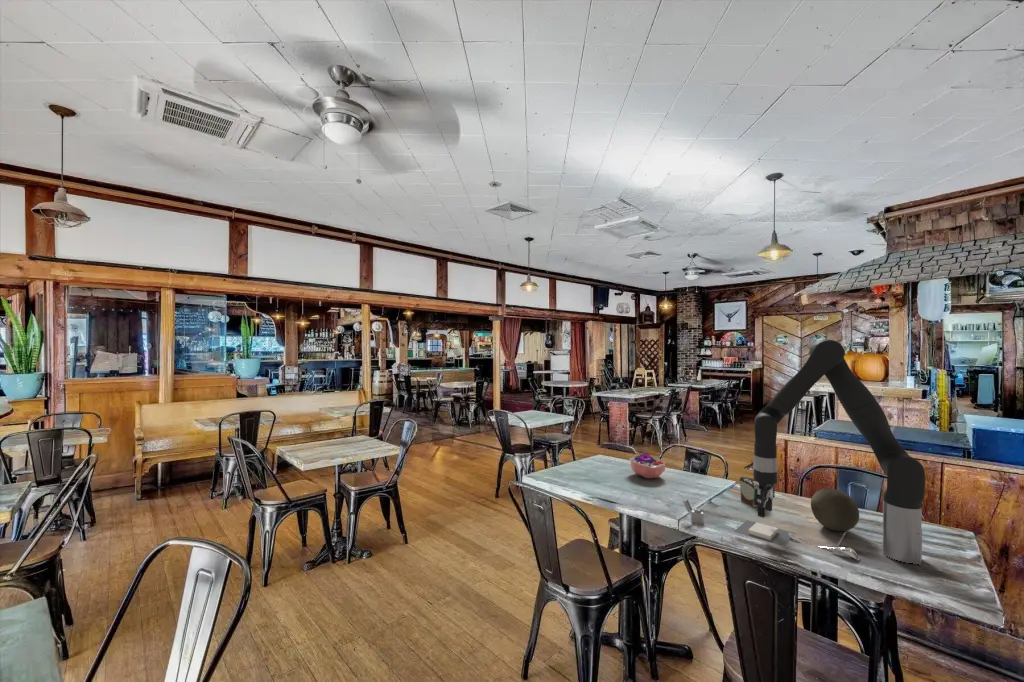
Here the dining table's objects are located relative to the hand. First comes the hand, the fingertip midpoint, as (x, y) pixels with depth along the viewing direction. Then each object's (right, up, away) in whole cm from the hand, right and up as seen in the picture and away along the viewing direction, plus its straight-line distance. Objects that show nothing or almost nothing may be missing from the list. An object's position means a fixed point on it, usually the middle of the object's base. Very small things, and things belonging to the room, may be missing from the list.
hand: (764, 513), depth 157 cm
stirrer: (+12, -7, -12) cm, 18 cm away
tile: (+2, -6, +2) cm, 6 cm away
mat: (0, -7, -1) cm, 7 cm away
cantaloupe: (+27, -7, +2) cm, 28 cm away
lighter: (-22, -7, +9) cm, 25 cm away
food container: (+11, -7, +28) cm, 31 cm away
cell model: (-23, -7, +64) cm, 69 cm away
